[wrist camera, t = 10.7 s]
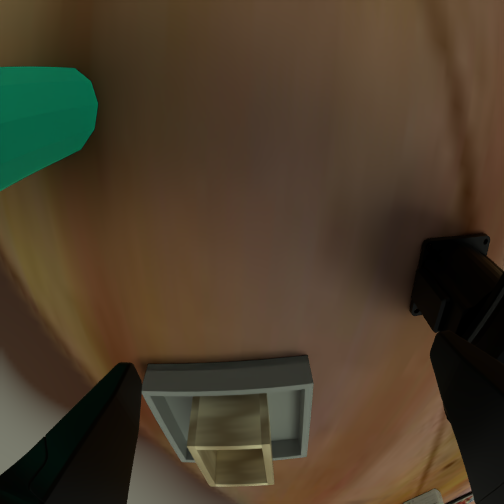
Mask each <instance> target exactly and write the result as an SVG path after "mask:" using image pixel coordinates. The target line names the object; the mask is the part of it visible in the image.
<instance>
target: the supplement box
mask: <svg viewBox="0 0 504 504" xmlns="http://www.w3.org/2000/svg"><path fill="white" fill-rule="evenodd" d="M404 504H444V503H443V499H442V496H441V493H440V492H439V491H438V490H436V489H433V490H431V491H429V492H426V493H424V494H422V495H420V496H418V497H416V498H413V499H411V500H409V501H407V502H404Z"/></svg>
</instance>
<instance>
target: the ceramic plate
mask: <svg viewBox="0 0 504 504" xmlns="http://www.w3.org/2000/svg"><path fill="white" fill-rule="evenodd" d="M473 500H474V497H473V493H470V494H467V495H465V496H463V497H460V498H458V499H456V500H454V501H452V502H450V503H448V504H468V503H470V502H471V501H473Z"/></svg>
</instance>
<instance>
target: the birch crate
mask: <svg viewBox="0 0 504 504" xmlns="http://www.w3.org/2000/svg"><path fill="white" fill-rule="evenodd" d="M187 448H188V449H189V451H190V453H191V455H192V456H193V458H194V460H195V462H196V463H197V465H198V467H199V469H200V470H201V472H202V474H203V475H204V477H205V479H206V480H207V482H208V484H209V485H210V486H257V485H273V484H274V473H273V459H272V445H271V431H270V421H269V410H268V400H267V393H259V394H244V395H224V396H193V399H192V407H191V415H190V423H189V431H188V440H187Z"/></svg>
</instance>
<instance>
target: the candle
mask: <svg viewBox="0 0 504 504" xmlns="http://www.w3.org/2000/svg"><path fill="white" fill-rule="evenodd" d="M97 109H98V101H97V98H96V95H95V92H94V89H93V86H92V83H91V81H90V80H89V79H88V78H86V77H85V76H84V75H83V74H81V73H80V72H79V71H78V70H77V69H75V68H64V67H0V191H2V190H3V189H5V188H7V187H9V186H11V185H12V184H14V183H16V182H18V181H20V180H22V179H23V178H25V177H27V176H29V175H31V174H33V173H35V172H37V171H39V170H41V169H43V168H45V167H47V166H49V165H51V164H53V163H55V162H57V161H59V160H61V159H63V158H65V157H67V156H69V155H71V154H73V153H75V152H77V151H79V150H81V149H82V147H83V146H84V144H85V143H86V141H87V140H88V138H89V137H90V135H91V134H92V132H93V131H94V129H95V123H96V116H97Z"/></svg>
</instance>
